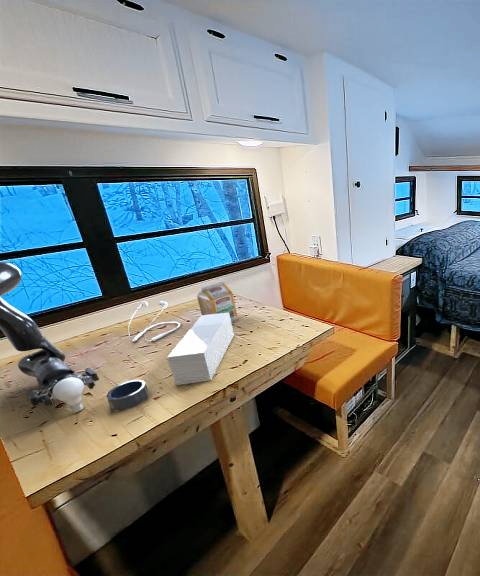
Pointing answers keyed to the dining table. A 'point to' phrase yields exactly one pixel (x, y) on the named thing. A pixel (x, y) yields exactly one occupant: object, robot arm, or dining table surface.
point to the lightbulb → (70, 393)
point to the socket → (127, 395)
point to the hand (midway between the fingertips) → (71, 394)
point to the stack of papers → (201, 349)
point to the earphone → (151, 322)
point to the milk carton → (217, 300)
